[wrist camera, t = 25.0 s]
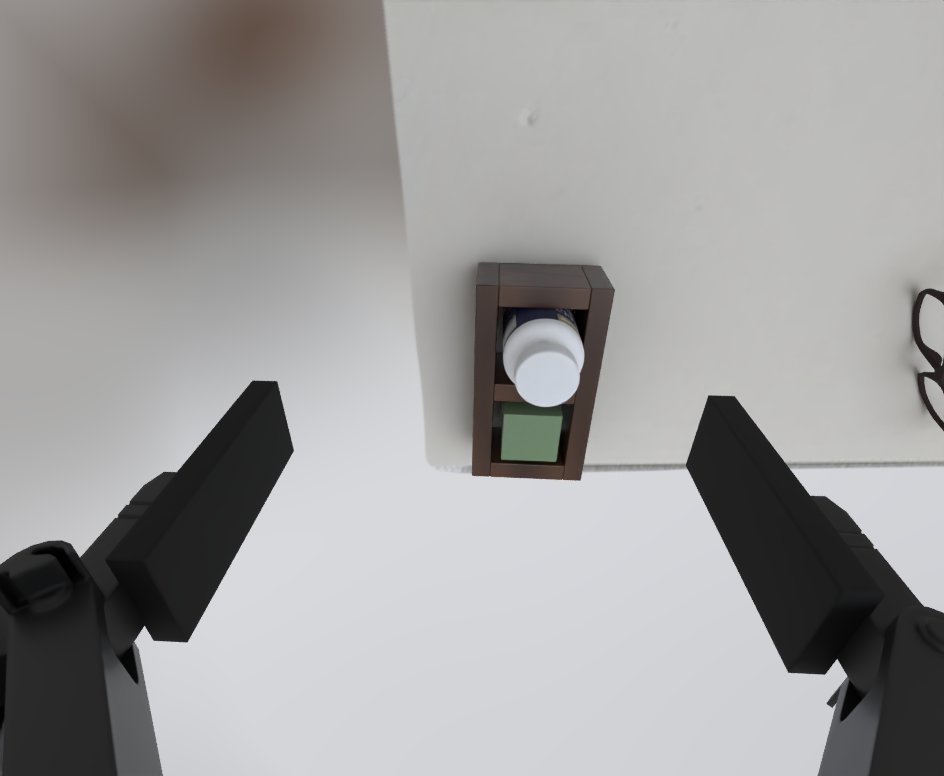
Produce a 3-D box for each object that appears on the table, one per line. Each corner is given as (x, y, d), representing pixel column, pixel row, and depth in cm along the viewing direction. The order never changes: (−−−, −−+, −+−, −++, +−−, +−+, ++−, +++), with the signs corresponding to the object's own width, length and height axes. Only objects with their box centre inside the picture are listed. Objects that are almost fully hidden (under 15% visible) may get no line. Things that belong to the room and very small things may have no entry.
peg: (500, 420, 43) (500, 459, 38) (503, 377, 41) (503, 414, 36) (550, 421, 43) (556, 462, 38) (555, 379, 41) (562, 416, 36)
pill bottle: (582, 295, 37) (607, 355, 28) (557, 355, 39) (572, 425, 31) (514, 276, 36) (519, 330, 28) (494, 338, 39) (492, 405, 31)
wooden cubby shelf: (474, 439, 44) (471, 476, 40) (478, 261, 36) (476, 284, 31) (572, 443, 44) (580, 481, 40) (601, 265, 35) (615, 289, 31)
